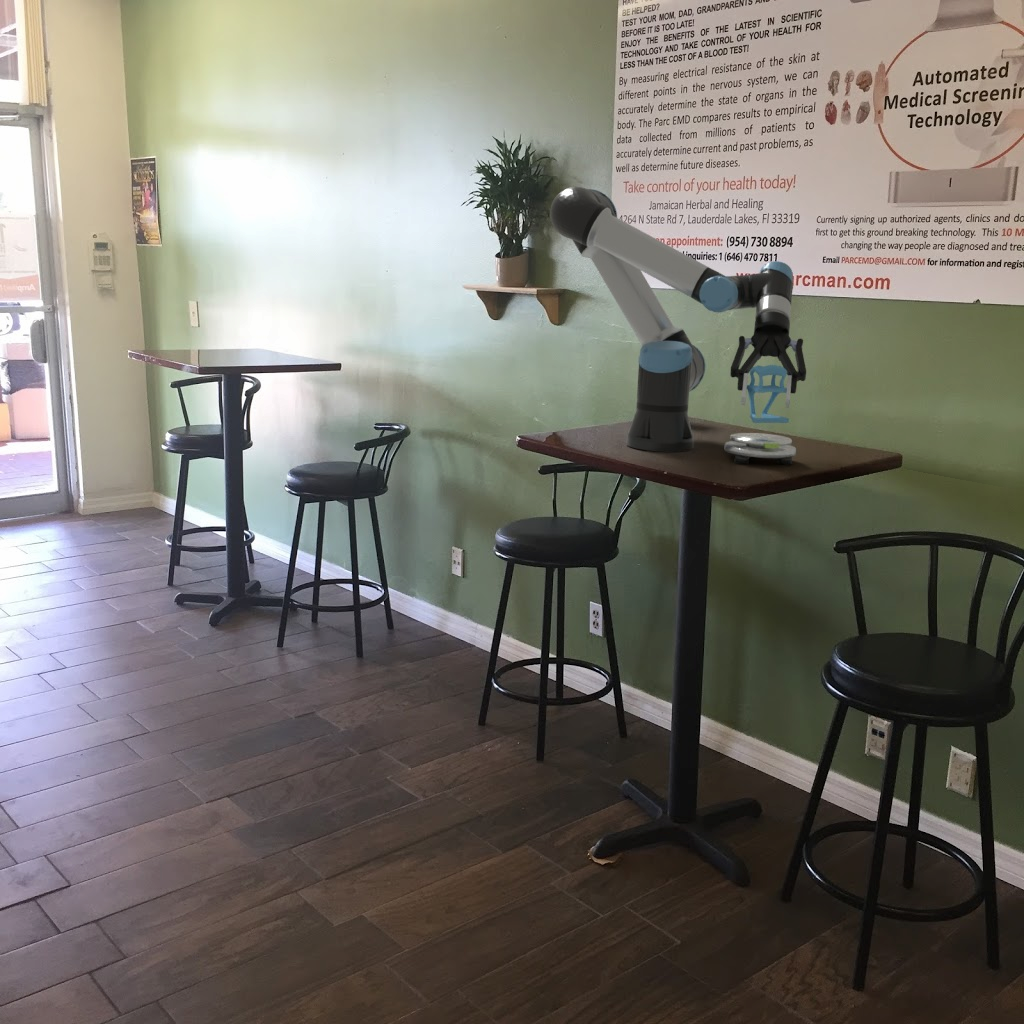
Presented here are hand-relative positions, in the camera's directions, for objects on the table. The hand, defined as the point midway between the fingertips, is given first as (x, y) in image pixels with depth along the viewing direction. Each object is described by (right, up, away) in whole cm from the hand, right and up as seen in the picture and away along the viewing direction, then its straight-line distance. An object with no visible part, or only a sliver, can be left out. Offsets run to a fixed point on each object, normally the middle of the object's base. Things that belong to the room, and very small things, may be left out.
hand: (765, 402), depth 224 cm
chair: (+1, -4, +4) cm, 5 cm away
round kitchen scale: (0, -12, +6) cm, 14 cm away
